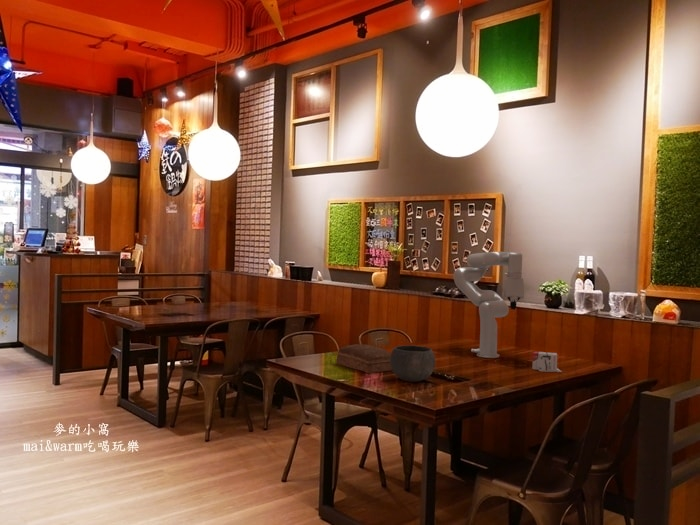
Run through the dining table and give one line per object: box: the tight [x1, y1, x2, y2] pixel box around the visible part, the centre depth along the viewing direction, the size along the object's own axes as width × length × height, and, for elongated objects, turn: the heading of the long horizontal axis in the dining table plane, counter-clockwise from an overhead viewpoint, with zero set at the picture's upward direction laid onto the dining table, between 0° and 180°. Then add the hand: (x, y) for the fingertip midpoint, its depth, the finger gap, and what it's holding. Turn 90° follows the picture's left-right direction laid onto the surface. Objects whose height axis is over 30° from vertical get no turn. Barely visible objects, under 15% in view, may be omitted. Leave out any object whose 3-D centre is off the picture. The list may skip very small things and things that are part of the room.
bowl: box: [390, 344, 436, 383], centre depth 277 cm, size 20×20×15 cm
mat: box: [538, 367, 563, 373], centre depth 312 cm, size 11×12×1 cm
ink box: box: [531, 351, 558, 371], centre depth 309 cm, size 9×5×12 cm
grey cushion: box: [336, 343, 393, 374], centre depth 307 cm, size 17×29×11 cm, turn 35°
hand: (513, 309), depth 329 cm, fingers closed
